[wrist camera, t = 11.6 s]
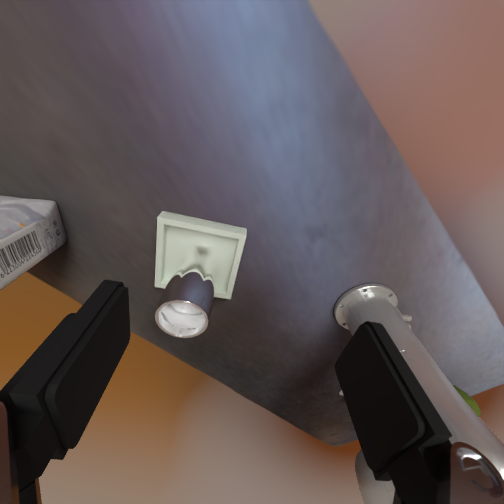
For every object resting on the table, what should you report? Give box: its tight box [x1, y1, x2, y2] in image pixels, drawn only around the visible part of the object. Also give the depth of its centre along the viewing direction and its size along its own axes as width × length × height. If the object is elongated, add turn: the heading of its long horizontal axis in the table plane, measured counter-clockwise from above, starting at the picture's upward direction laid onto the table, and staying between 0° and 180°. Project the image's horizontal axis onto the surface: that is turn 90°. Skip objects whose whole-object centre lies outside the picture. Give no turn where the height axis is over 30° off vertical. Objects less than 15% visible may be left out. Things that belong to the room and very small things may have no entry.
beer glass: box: [155, 242, 219, 338], centre depth 36 cm, size 7×7×15 cm
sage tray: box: [155, 211, 247, 299], centre depth 42 cm, size 14×14×2 cm
